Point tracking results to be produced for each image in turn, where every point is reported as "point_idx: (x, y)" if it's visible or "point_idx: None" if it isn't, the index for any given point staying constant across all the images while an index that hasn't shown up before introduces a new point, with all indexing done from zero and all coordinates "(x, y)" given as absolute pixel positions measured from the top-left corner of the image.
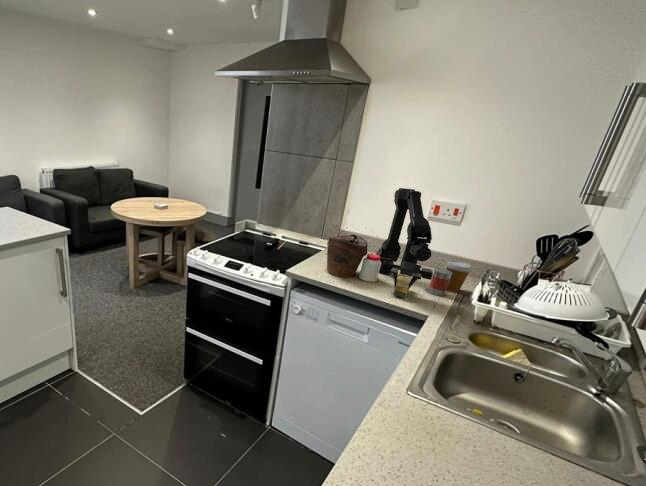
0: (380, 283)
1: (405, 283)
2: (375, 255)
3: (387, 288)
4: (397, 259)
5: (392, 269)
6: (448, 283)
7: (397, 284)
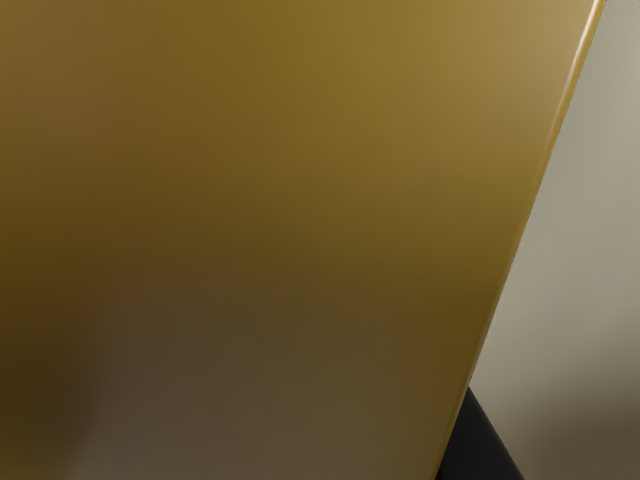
0: (611, 472)
1: (92, 443)
2: None
3: (526, 340)
4: None
5: None
6: None
7: (500, 133)
